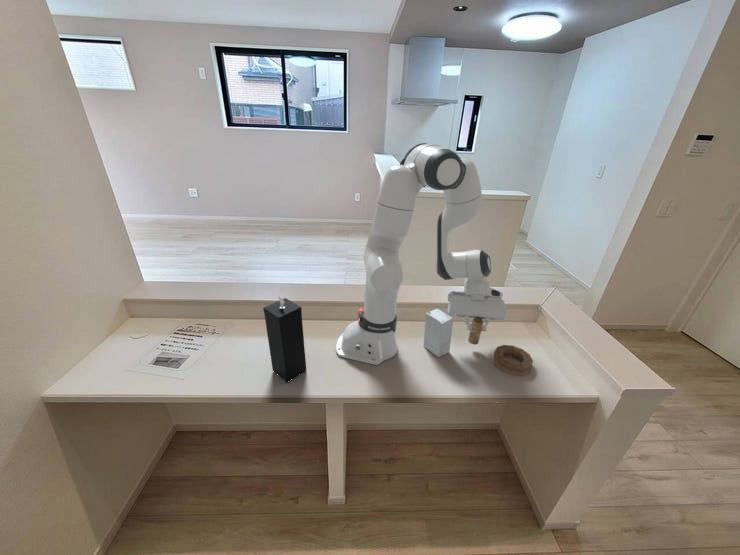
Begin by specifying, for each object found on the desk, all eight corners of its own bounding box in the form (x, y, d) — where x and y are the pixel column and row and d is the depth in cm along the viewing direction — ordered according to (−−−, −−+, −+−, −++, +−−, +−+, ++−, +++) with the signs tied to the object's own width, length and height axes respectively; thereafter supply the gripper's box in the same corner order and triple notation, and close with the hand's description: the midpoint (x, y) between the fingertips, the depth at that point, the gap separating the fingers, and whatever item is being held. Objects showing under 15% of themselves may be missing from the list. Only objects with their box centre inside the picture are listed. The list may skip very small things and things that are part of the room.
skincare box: (449, 352, 113) (455, 318, 106) (437, 358, 110) (442, 323, 103) (433, 340, 119) (438, 307, 113) (421, 345, 116) (425, 312, 110)
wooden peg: (469, 344, 112) (474, 321, 108) (467, 337, 115) (472, 315, 111) (479, 345, 112) (485, 322, 107) (477, 338, 115) (482, 316, 111)
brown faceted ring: (498, 373, 104) (500, 366, 103) (489, 350, 115) (491, 343, 113) (535, 376, 103) (538, 369, 102) (523, 353, 114) (525, 346, 112)
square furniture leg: (287, 383, 97) (277, 307, 85) (272, 371, 102) (261, 297, 90) (306, 370, 103) (300, 297, 90) (292, 359, 107) (284, 288, 95)
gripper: (449, 288, 113) (448, 325, 108) (507, 293, 111) (508, 331, 107) (446, 292, 119) (445, 328, 114) (501, 297, 117) (502, 334, 113)
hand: (476, 330), depth 111 cm, fingers closed on wooden peg, 4 cm apart
